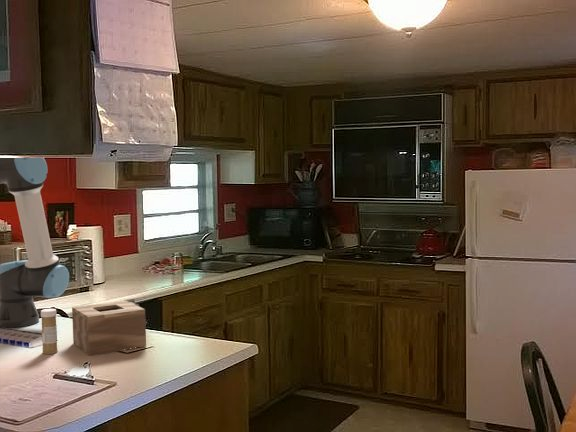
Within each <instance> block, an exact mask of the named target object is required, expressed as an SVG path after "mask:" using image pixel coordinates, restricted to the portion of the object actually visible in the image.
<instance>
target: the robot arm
mask: <svg viewBox="0 0 576 432" xmlns="http://www.w3.org/2000/svg"><path fill="white" fill-rule="evenodd" d="M47 174H48V164H47V161H46V159H45V158H44V157H43V158H0V185H1V184H3V185H6V186H7V190H8V192H9V193H10V194H12V195H13V196H14V200H15V205H16V209H17V214H18V218H19V222H20V228H21V231H22V236H23V240H24V246H25V250H26V254H27V258H28V259H24V260H23V259H22V260H15V261H9V262H5V263H4V262H3V263H1V264H0V328H20V327H27V326H31V325H35V324H37V323H39V322H40V315H39V313H38V310H37V307H36V305H35V303H34V297H36V298H37V297H38V298H47V299H49V298H57V297H60V296H61V295H63V294H64V292H65V291H66V290H67V287H68V285H69V282H70V272H69V269H68V268H67V267H66V266H65V265H63V264H60V259H59V256H57V255H55V254H54V252H53V247H52V242H51V239H50V232H49V228H48V223H47V219H46V215H45V214H46V213H45V210H44V209H45V208H44V202H43V199H42V195H41V190H42V188H43V187H44V182H45V180H46V179H47V176H48V175H47Z"/></svg>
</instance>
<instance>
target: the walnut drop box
mask: <svg viewBox="0 0 576 432" xmlns="http://www.w3.org/2000/svg"><path fill="white" fill-rule="evenodd" d="M137 305H138V304H137ZM137 305H134V304H132V303H130V302H128V301H124V300H120V301H112V302H104V303H103V302H102V303H95V304H94V303H93V304H88V305H85V304H84V305H80V306H79V305H78V306H71V317H72V340H73V342H72V343H73V344H74V345H75V346H76V347H78V348H79V349H80V350H81V351H83V352H84V353H85V354H86V355H87V356H91V357H92V356H97V355H103V354H109V353H115V352H120V351H119V350H123V351H125V350H124V349H129V350H131V349H130V348H135V347H141V348H145V347H144V346H146V347H147V332H146V329H147V327H146V323H147V322H146V309H145V308H143V307H141V306H140V305H139V306H137ZM135 349H136V348H135Z"/></svg>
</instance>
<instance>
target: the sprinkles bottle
mask: <svg viewBox="0 0 576 432" xmlns="http://www.w3.org/2000/svg"><path fill="white" fill-rule="evenodd" d="M40 318H41V341H42V342H41V343H42V353H43V354H44V355H52V354H56V353H58V330H57V329H58V328H57V327H58V326H57V325H58V324H57V309H56V308H44V309H42V310H40Z"/></svg>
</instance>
